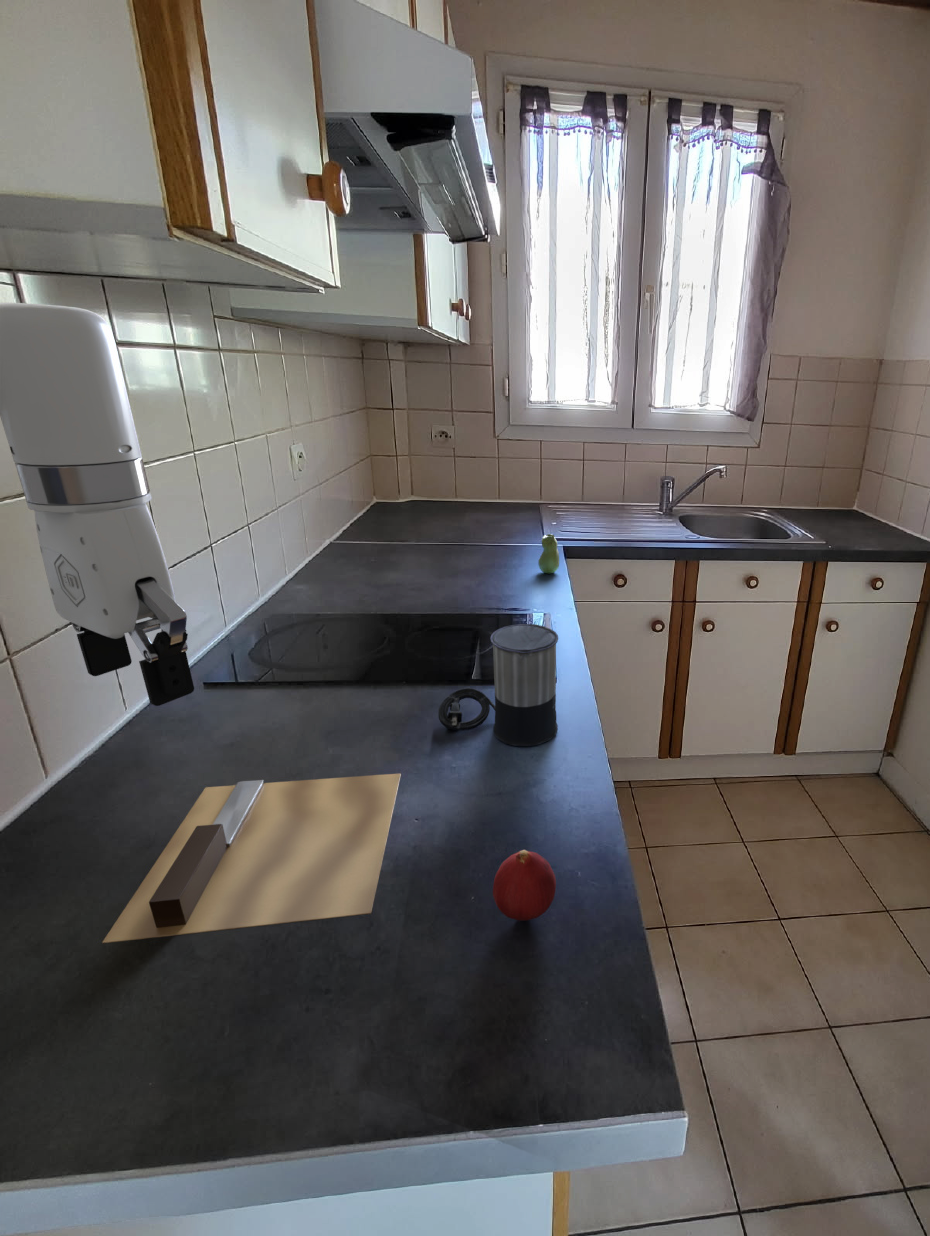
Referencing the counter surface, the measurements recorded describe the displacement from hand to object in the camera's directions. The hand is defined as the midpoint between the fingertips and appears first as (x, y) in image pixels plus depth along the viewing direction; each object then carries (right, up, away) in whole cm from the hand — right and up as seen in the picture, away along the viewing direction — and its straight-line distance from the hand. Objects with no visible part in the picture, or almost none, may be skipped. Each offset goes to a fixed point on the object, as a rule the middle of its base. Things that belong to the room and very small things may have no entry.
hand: (141, 683), depth 55 cm
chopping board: (+5, -19, +12) cm, 23 cm away
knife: (0, -18, +11) cm, 21 cm away
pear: (+24, +17, +107) cm, 111 cm away
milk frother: (+24, -10, +38) cm, 46 cm away
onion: (+32, -23, +6) cm, 40 cm away
